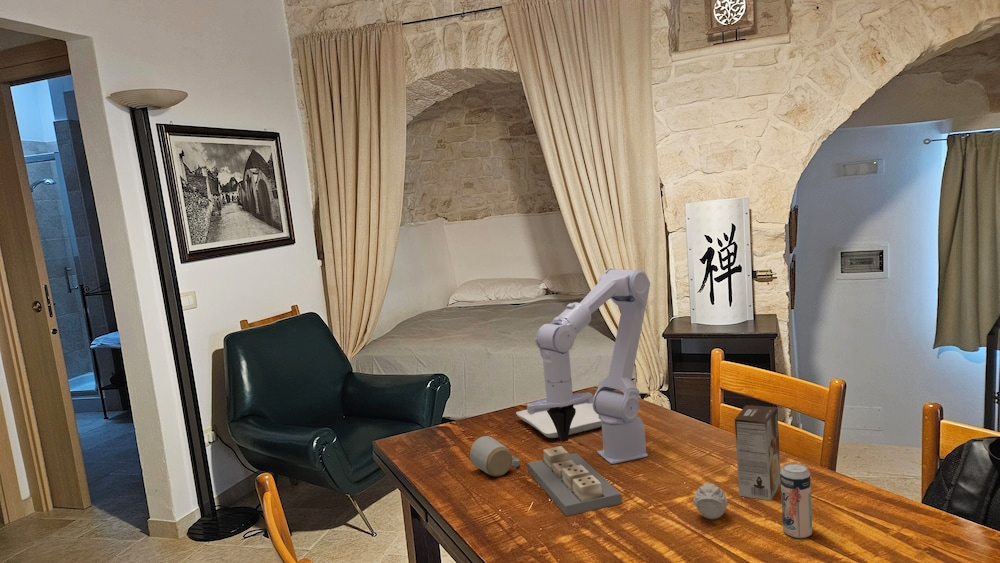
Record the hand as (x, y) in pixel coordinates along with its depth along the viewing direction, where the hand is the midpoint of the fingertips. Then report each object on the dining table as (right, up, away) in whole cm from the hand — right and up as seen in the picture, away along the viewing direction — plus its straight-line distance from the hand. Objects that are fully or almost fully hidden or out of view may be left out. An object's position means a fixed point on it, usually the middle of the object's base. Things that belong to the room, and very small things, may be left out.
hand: (563, 439), depth 148 cm
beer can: (+38, -10, -29) cm, 49 cm away
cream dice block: (+1, -9, +1) cm, 9 cm away
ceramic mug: (-14, -10, +11) cm, 20 cm away
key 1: (-1, -7, +7) cm, 10 cm away
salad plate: (+4, -5, +37) cm, 38 cm away
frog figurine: (+26, -10, -21) cm, 35 cm away
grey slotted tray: (+2, -10, -2) cm, 10 cm away
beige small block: (+2, -8, -5) cm, 10 cm away
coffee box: (+38, -8, -11) cm, 41 cm away
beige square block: (+4, -9, -10) cm, 14 cm away
